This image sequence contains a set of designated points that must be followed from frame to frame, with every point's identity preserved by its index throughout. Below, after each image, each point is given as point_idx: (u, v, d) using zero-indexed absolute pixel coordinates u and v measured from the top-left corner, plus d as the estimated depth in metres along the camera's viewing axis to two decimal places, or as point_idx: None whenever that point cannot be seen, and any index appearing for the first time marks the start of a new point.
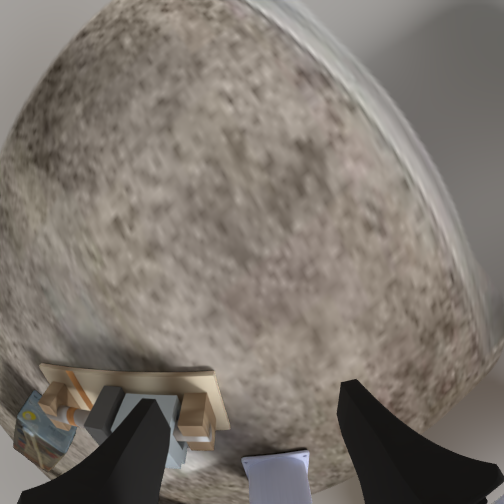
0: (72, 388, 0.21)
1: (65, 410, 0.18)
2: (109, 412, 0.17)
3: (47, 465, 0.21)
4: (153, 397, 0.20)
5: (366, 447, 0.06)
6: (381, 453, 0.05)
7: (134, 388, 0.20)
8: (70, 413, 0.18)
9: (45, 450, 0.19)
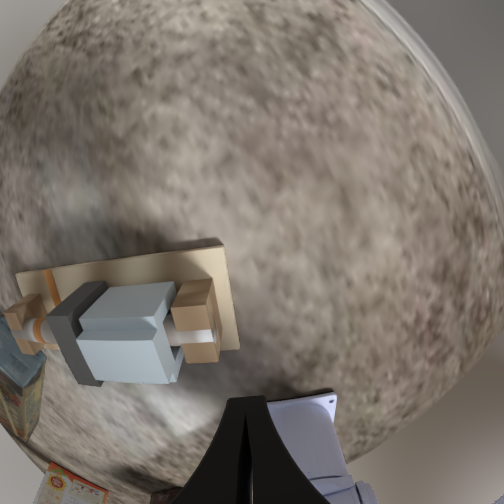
0: (48, 299, 0.18)
1: (33, 320, 0.15)
2: (83, 301, 0.14)
3: (19, 427, 0.18)
4: (143, 286, 0.17)
5: None
6: None
7: (121, 282, 0.18)
8: (38, 322, 0.15)
9: (8, 394, 0.16)
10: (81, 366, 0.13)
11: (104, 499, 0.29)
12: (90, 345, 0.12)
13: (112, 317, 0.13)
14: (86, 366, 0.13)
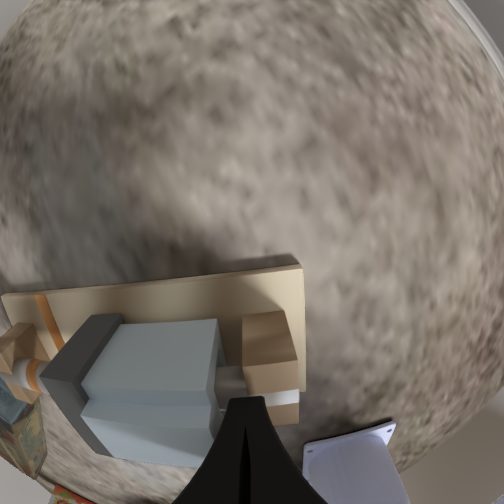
0: (43, 331, 0.13)
1: (26, 363, 0.10)
2: (93, 351, 0.09)
3: (22, 464, 0.13)
4: (171, 325, 0.12)
5: None
6: None
7: (147, 315, 0.13)
8: (32, 367, 0.10)
9: (0, 430, 0.11)
10: None
11: None
12: (104, 425, 0.07)
13: (134, 387, 0.08)
14: None
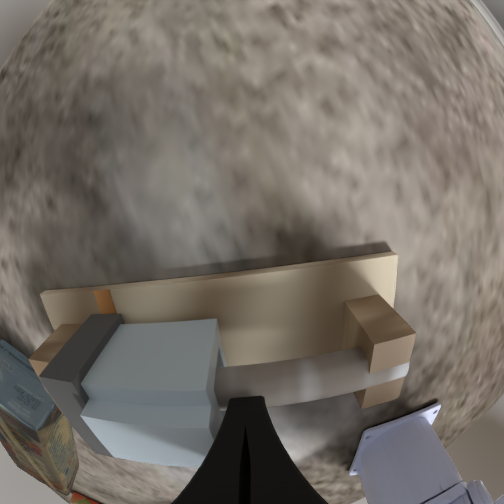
0: None
1: None
2: (93, 351, 0.09)
3: (52, 479, 0.13)
4: (171, 325, 0.12)
5: None
6: None
7: (245, 307, 0.13)
8: None
9: (25, 441, 0.11)
10: None
11: None
12: (103, 425, 0.07)
13: (134, 387, 0.08)
14: None
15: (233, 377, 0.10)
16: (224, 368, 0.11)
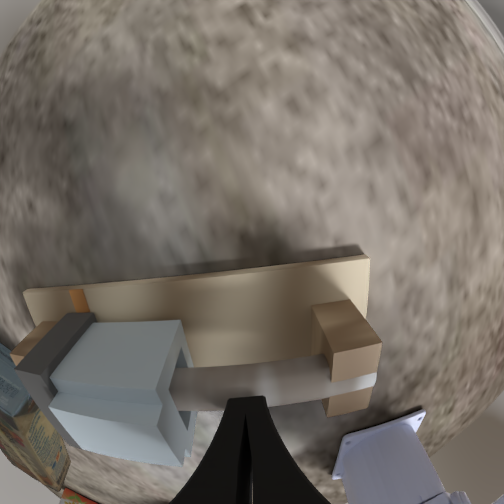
0: None
1: None
2: (63, 347, 0.09)
3: (41, 473, 0.12)
4: (137, 325, 0.12)
5: None
6: None
7: (210, 309, 0.13)
8: None
9: (8, 431, 0.10)
10: None
11: None
12: (68, 417, 0.07)
13: (94, 383, 0.08)
14: None
15: (191, 378, 0.10)
16: (184, 369, 0.10)
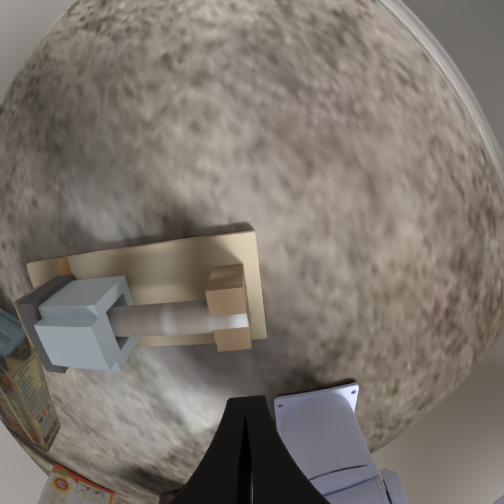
0: None
1: None
2: (49, 291, 0.14)
3: (29, 427, 0.17)
4: (98, 279, 0.17)
5: None
6: None
7: (144, 269, 0.18)
8: None
9: (2, 379, 0.16)
10: None
11: (110, 501, 0.29)
12: (45, 331, 0.12)
13: (63, 305, 0.13)
14: None
15: (123, 310, 0.15)
16: (122, 306, 0.16)
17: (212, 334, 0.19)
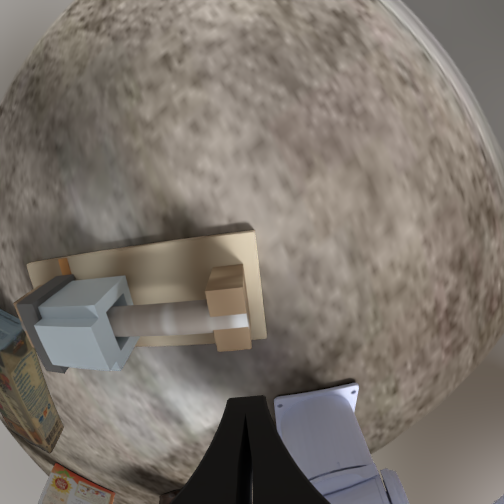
0: None
1: None
2: (49, 291, 0.14)
3: (30, 427, 0.17)
4: (98, 279, 0.17)
5: None
6: None
7: (144, 269, 0.18)
8: None
9: (0, 377, 0.15)
10: None
11: (110, 501, 0.29)
12: (45, 331, 0.12)
13: (63, 305, 0.13)
14: None
15: (124, 310, 0.15)
16: (122, 306, 0.16)
17: (212, 334, 0.19)
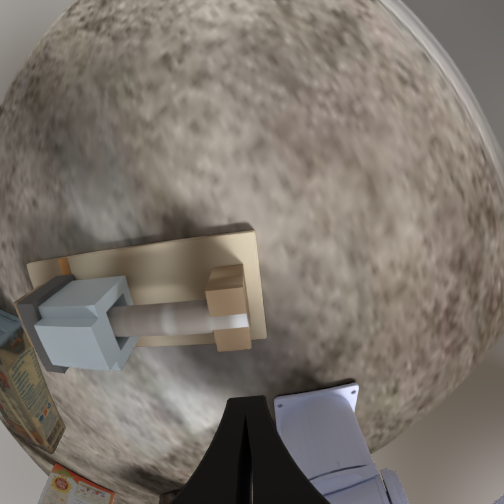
0: None
1: None
2: (49, 291, 0.14)
3: (30, 427, 0.17)
4: (98, 279, 0.17)
5: None
6: None
7: (144, 269, 0.18)
8: None
9: None
10: None
11: (110, 501, 0.29)
12: (45, 331, 0.12)
13: (63, 305, 0.13)
14: None
15: (124, 310, 0.15)
16: (122, 306, 0.16)
17: (212, 334, 0.19)
